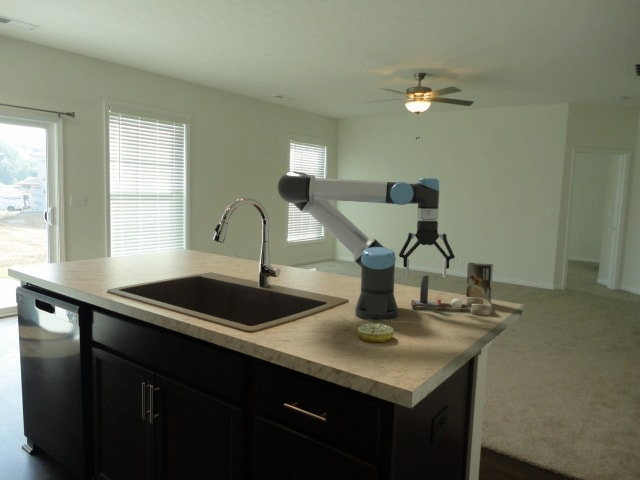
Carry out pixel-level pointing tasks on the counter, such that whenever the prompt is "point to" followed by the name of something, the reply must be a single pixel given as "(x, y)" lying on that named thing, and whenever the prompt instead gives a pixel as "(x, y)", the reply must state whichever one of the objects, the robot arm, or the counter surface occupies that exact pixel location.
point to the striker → (426, 294)
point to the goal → (479, 306)
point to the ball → (456, 303)
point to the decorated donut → (375, 332)
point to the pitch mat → (444, 311)
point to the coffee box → (479, 280)
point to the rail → (443, 307)
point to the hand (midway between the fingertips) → (425, 276)
